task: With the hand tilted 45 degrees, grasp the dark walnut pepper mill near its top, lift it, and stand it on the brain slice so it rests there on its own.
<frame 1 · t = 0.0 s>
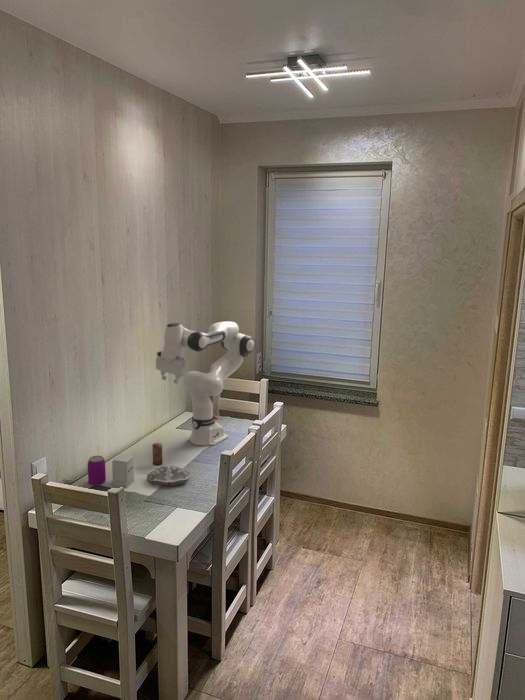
hand: (169, 381, 260), 39 cm above the table, tool pointing down, fingers open, 8 cm apart
supplement box: (123, 483, 234), on the table
beverage can: (97, 483, 233), on the table
brain slice: (168, 480, 239), on the table
walnut pepper mill: (157, 463, 255), on the table
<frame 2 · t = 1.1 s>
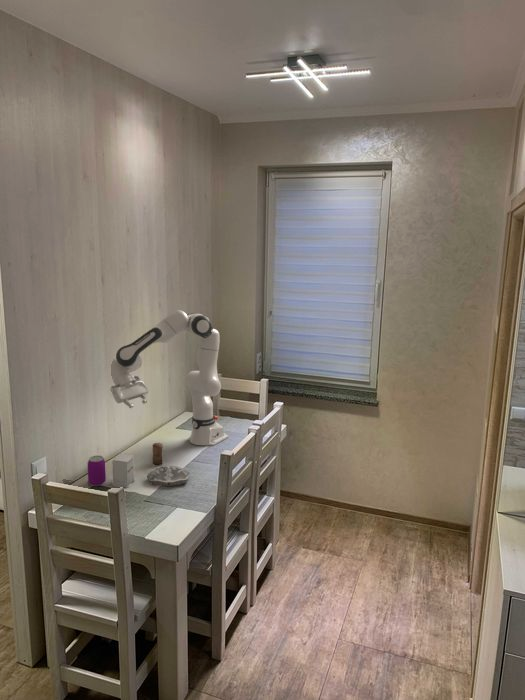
hand: (138, 405, 255), 28 cm above the table, tool tilted 45°, fingers open, 8 cm apart
nothing on the table moved.
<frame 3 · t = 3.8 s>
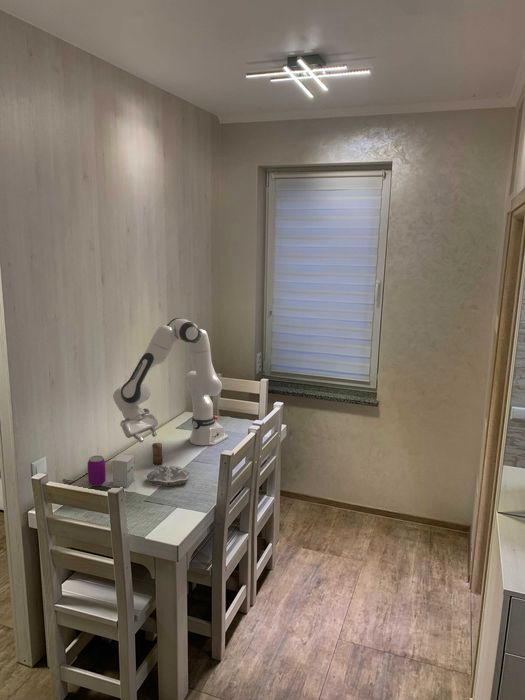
hand: (148, 438, 256), 12 cm above the table, tool tilted 45°, fingers open, 8 cm apart
nothing on the table moved.
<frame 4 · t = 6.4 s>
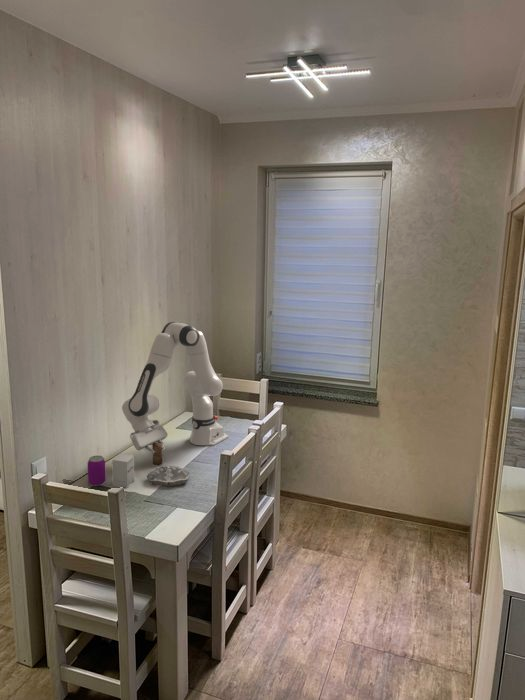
hand: (158, 450, 253), 7 cm above the table, tool tilted 45°, fingers closed on walnut pepper mill, 5 cm apart
walnut pepper mill: (157, 463, 255), on the table, touching gripper
everything else where it was.
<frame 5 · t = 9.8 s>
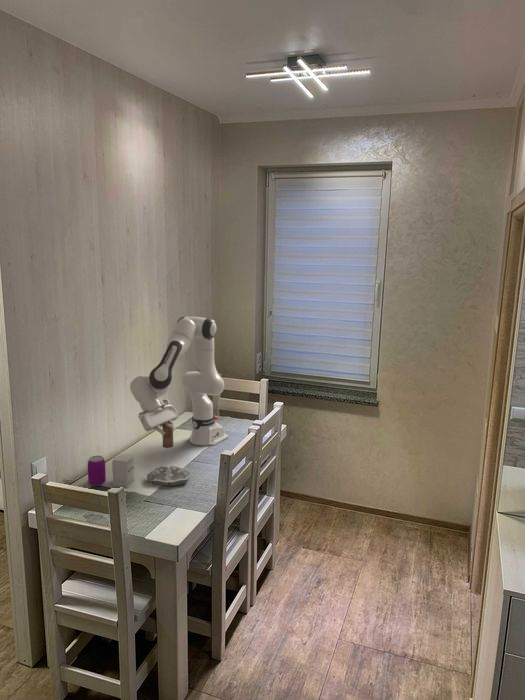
hand: (169, 432, 234), 23 cm above the table, tool tilted 45°, fingers closed on walnut pepper mill, 5 cm apart
walnut pepper mill: (168, 446, 236), point 16 cm above the table, touching gripper
everything else where it was.
when the fingers open (11 cm above the table, at t = 13.4 s): walnut pepper mill drops 2 cm, resting on brain slice.
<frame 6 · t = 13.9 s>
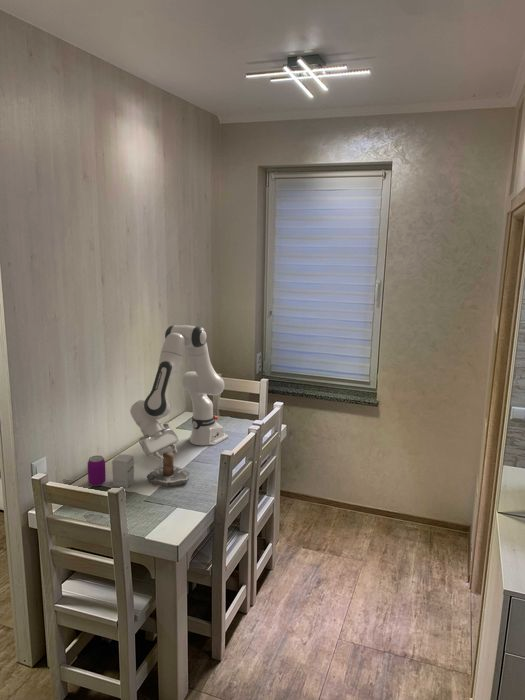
hand: (169, 456, 237), 11 cm above the table, tool tilted 45°, fingers open, 8 cm apart
brain slice: (168, 480, 239), on the table, touching walnut pepper mill
walnut pepper mill: (168, 474, 239), point 3 cm above the table, touching brain slice
everything else where it was.
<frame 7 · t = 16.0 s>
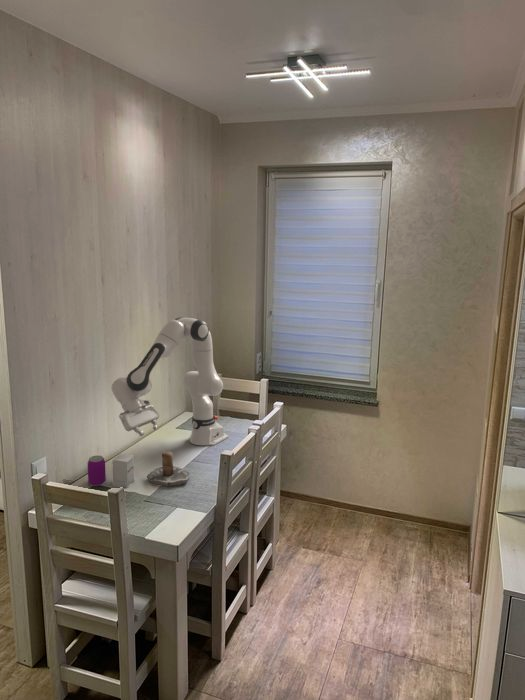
hand: (149, 432, 241), 21 cm above the table, tool tilted 45°, fingers open, 8 cm apart
nothing on the table moved.
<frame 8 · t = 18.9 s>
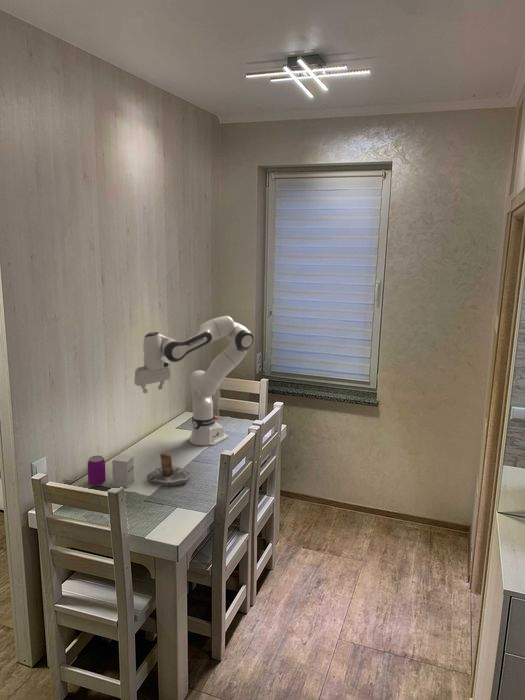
hand: (152, 391, 259), 34 cm above the table, tool pointing down, fingers open, 8 cm apart
at the end: walnut pepper mill inside the target area on the brain slice (0.5 cm from its centre), point 3.5 cm above the brain slice's base; walnut pepper mill tilted 7°; the gripper is holding nothing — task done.
